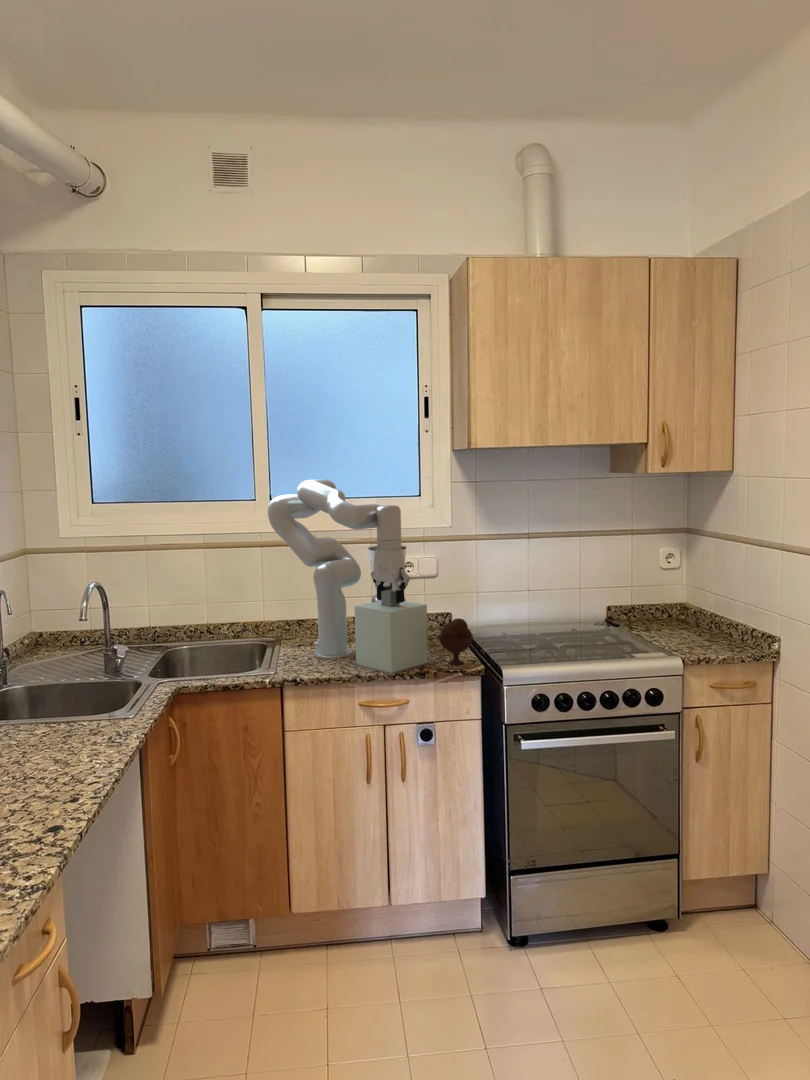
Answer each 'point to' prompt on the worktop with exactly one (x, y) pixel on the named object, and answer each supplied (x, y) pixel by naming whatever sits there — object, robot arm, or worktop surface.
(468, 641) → the ice cream bowl
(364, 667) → the mat
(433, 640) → the worktop surface
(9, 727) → the worktop surface
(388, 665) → the cover
